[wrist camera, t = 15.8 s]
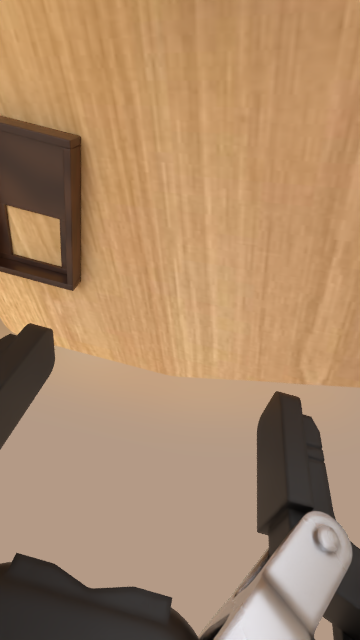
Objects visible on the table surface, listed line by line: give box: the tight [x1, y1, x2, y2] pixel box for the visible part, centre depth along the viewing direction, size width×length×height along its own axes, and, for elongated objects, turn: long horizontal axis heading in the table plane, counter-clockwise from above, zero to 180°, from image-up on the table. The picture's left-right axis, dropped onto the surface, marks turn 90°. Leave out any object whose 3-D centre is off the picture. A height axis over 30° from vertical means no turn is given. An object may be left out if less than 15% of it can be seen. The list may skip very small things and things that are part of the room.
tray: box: [0, 116, 81, 291], centre depth 39 cm, size 18×12×2 cm, turn 169°
